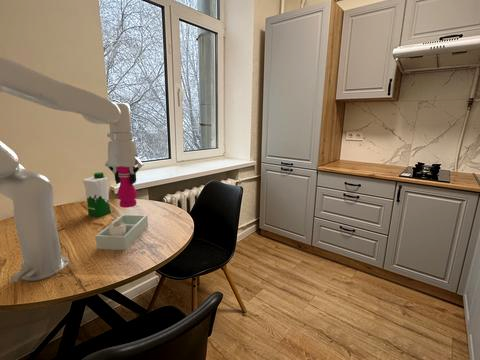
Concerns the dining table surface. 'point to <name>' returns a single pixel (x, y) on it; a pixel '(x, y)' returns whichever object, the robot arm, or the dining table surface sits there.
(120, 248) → the grey divided tray
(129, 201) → the pepper mill
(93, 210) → the milk carton
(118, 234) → the salt cellar
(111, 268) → the dining table surface
